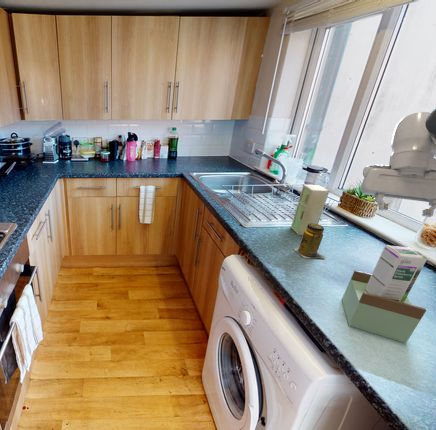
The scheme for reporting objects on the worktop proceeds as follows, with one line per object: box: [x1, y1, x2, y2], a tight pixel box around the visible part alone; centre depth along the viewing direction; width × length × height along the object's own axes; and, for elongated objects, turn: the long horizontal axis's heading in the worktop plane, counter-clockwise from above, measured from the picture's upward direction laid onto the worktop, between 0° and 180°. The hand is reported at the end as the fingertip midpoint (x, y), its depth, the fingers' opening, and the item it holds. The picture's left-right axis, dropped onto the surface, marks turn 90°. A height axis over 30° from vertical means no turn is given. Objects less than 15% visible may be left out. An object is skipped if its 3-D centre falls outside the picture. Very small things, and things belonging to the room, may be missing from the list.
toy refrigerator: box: [290, 184, 330, 236], centre depth 124 cm, size 8×7×21 cm
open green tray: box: [341, 269, 427, 344], centre depth 78 cm, size 12×12×11 cm
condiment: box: [293, 223, 326, 259], centre depth 109 cm, size 7×8×12 cm
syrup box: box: [366, 244, 428, 303], centre depth 74 cm, size 6×6×14 cm
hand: (404, 213), depth 80 cm, fingers open, 8 cm apart
